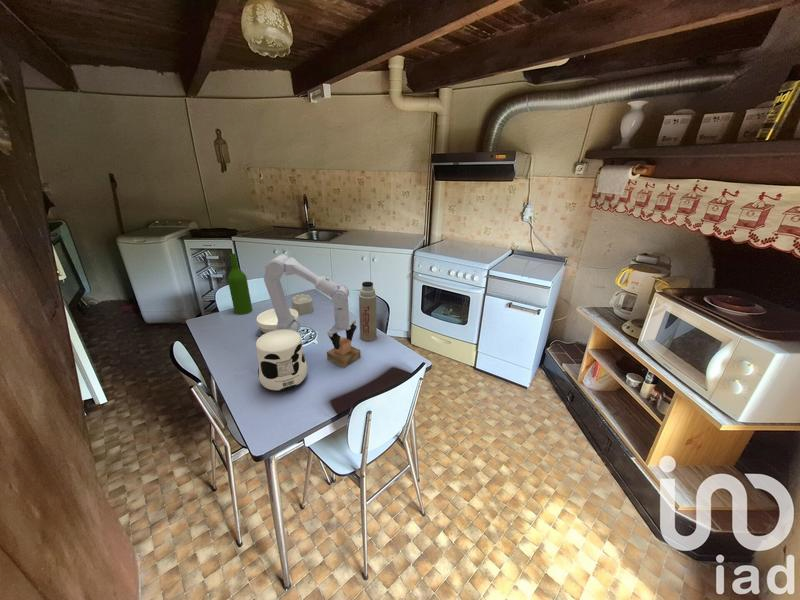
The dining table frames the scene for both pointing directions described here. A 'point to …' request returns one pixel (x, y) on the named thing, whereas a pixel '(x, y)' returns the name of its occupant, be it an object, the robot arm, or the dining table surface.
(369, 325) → the thermos bottle
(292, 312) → the bowl
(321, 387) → the dining table surface
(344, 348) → the terracotta cube
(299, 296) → the lumpy-topped squat cylinder
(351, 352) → the walnut base
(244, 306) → the wine bottle
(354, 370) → the dining table surface
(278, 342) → the milk container
